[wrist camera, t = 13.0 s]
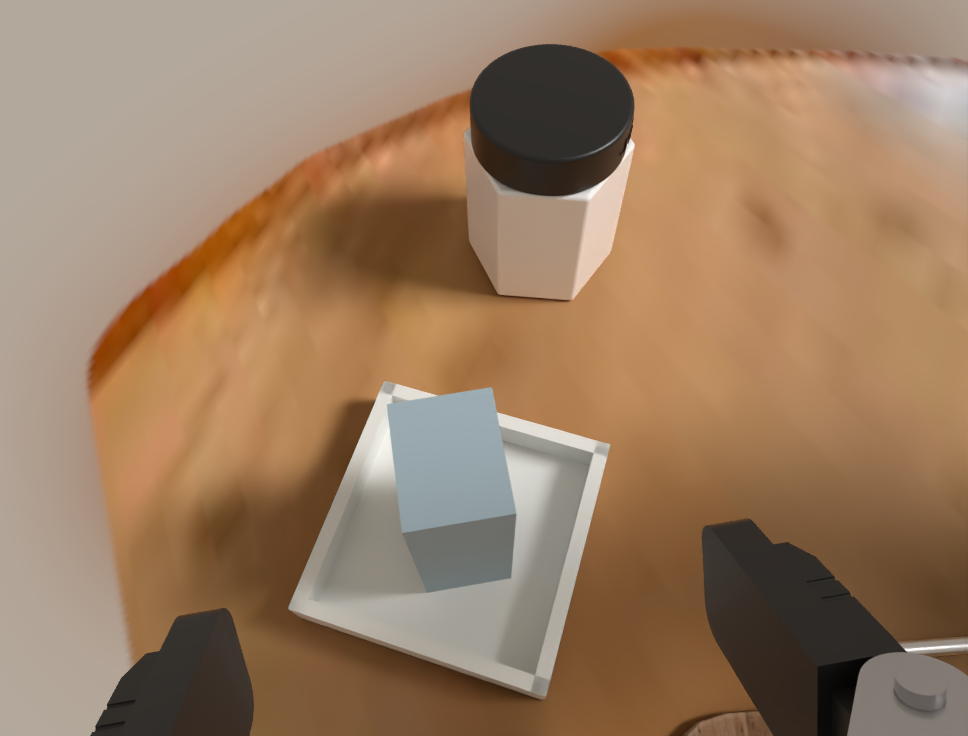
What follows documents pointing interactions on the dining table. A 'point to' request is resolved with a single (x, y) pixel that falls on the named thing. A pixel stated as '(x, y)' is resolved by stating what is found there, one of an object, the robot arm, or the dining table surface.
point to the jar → (546, 167)
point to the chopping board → (750, 732)
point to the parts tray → (470, 609)
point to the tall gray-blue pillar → (453, 488)
